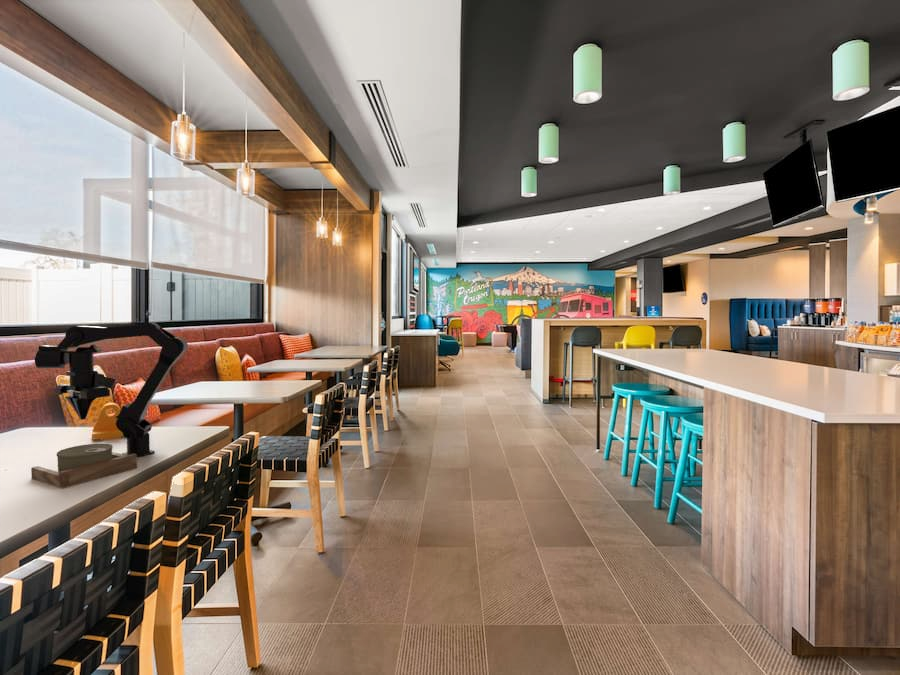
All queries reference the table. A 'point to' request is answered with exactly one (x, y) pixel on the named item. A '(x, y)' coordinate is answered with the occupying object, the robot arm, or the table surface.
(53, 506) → the table surface
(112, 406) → the bracket
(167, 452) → the table surface
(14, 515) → the table surface
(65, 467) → the can
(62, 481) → the pocket
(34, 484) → the table surface
